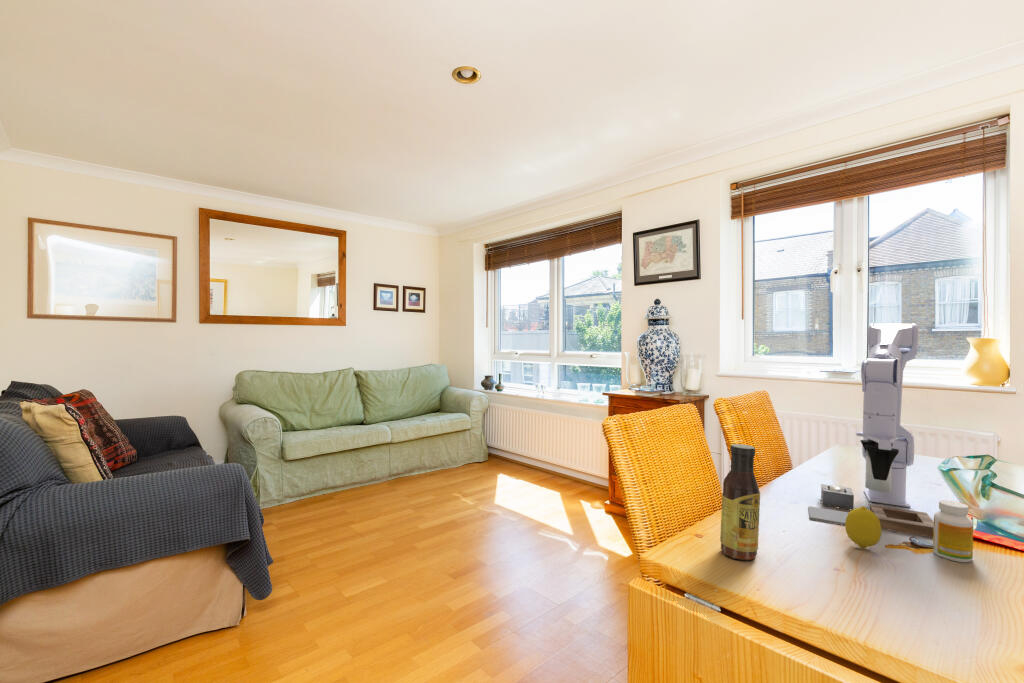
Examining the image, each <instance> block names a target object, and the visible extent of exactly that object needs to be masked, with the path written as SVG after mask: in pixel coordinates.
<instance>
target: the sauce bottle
mask: <svg viewBox="0 0 1024 683" xmlns="http://www.w3.org/2000/svg"><path fill="white" fill-rule="evenodd" d="M730 454H731V459H730V462H731V464H730V470H729V472H728V473H727V474H726V476H725V477H724V479H723V483H722V484H723V485H722V486H723V487H722V495H721V516H720V518H721V519H720V539H719V540H720V550H721V552H722V553H723V554H724V555H725V556H726V557H729V558H730V559H734V560H741V561H753V560H754V559H756V557H757V555H758V549H759V535H760V534H759V530H760V529H759V528H760V526H759V525H760V507H761V506H760V505H761V504H760V503H761V492H760V489H759V485H758V481H757V478H756V475H755V472H754V471H755V468H754V458H755V455H756V448H755V447H754V446H753V445H749V444H739V443H733V444H731V445H730Z"/></svg>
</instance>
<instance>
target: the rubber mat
mask: <svg viewBox="0 0 1024 683" xmlns="http://www.w3.org/2000/svg"><path fill="white" fill-rule="evenodd" d="M808 513H809V520H812V521H816V520H817V522H822V521H823V522H824V523H828V522H830V523H829V524H834V523H837V524H836V525H840V524H842V525H841V526H845V521H846V518H847V515H848V513H849V511H848V512H847V511H841V510H836V509H829V508H822V507H818V506H817V507H816V506H811V505H809V506H808Z"/></svg>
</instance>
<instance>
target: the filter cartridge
mask: <svg viewBox="0 0 1024 683" xmlns="http://www.w3.org/2000/svg"><path fill="white" fill-rule="evenodd" d="M864 479H865V480H864V481H865V484H864V485H865V486H864V487H865V488H866V489H867V490H869V489H870V490H874V491H879V492H890V491H891V467H890V471H889V474H888V478H887V480H886V481H885V480H877V479H874V477H873V473H872V467H871V461H870V457H869V454H868V452H867V450H866V459H865V477H864Z"/></svg>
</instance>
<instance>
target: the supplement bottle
mask: <svg viewBox="0 0 1024 683" xmlns="http://www.w3.org/2000/svg"><path fill="white" fill-rule="evenodd" d="M938 509H939V511H936V512H934V514H933V522H934V526H933V537H932V551H933V553H934V554H935V555H937V556H939V557H940V558H944V559H947V560H949V561H952V562H953V561H954V562H958V563H970V562H972V561H973V557H974V556H973V552H974V551H973V549H974V546H973V545H974V521H973V520H972V519H971V518H970V517H969V516H968V515H969V506H968V505H966V503H961V502H958V501H954V500H939V501H938Z"/></svg>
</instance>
